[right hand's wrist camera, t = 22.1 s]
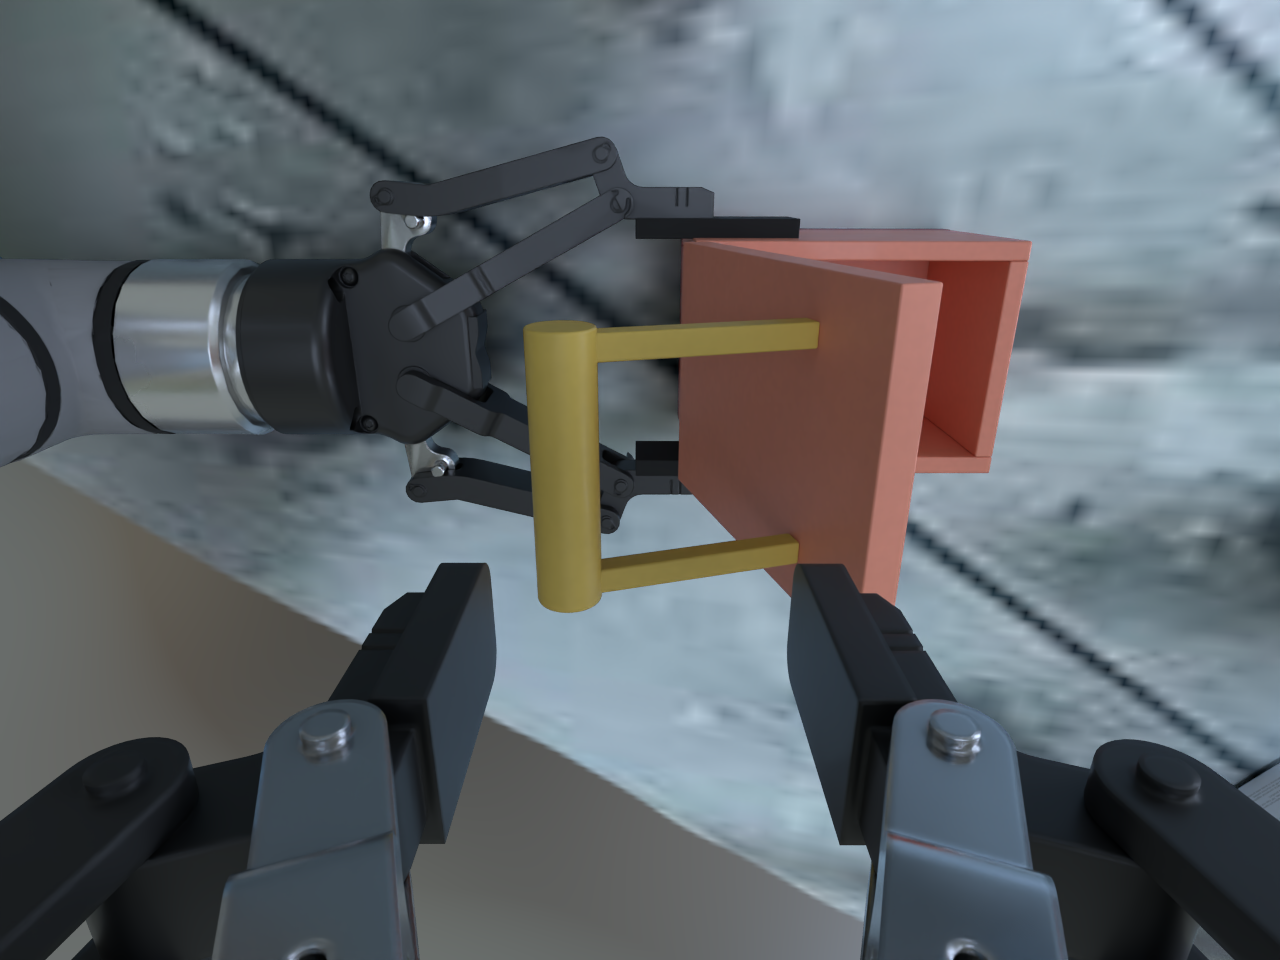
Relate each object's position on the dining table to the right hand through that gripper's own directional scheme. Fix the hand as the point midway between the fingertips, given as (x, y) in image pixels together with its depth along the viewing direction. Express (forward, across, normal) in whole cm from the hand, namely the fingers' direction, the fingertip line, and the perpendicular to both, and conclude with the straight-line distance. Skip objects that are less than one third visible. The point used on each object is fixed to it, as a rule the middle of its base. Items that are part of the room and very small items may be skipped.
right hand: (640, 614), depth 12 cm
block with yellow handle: (+12, -4, 0) cm, 13 cm away
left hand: (+22, -6, 0) cm, 23 cm away
